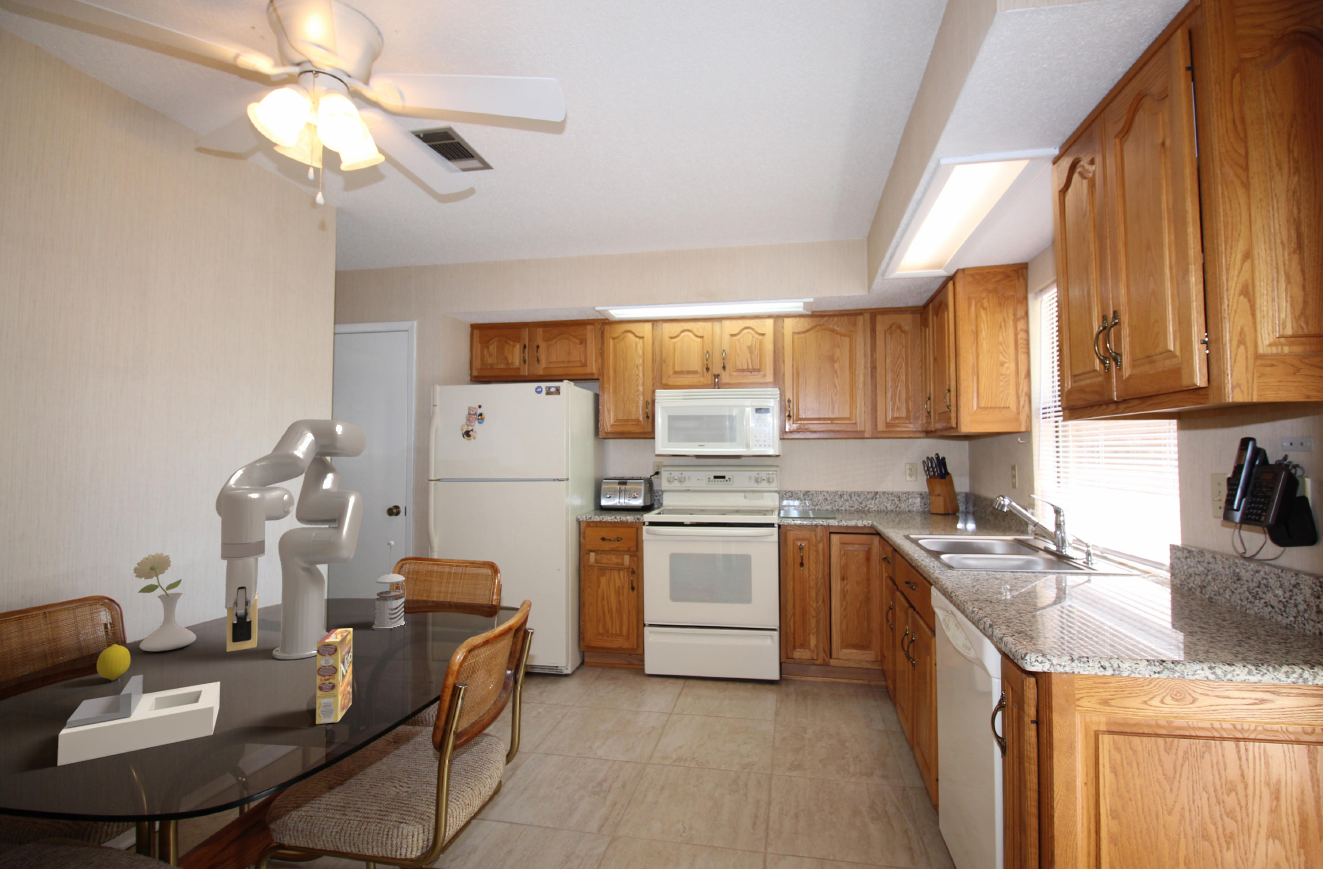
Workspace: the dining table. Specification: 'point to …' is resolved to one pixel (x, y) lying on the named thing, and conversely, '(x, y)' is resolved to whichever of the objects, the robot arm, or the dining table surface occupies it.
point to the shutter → (109, 705)
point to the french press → (389, 601)
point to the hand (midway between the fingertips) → (242, 636)
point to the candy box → (334, 675)
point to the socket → (145, 724)
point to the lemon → (113, 662)
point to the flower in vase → (169, 631)
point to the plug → (253, 617)
